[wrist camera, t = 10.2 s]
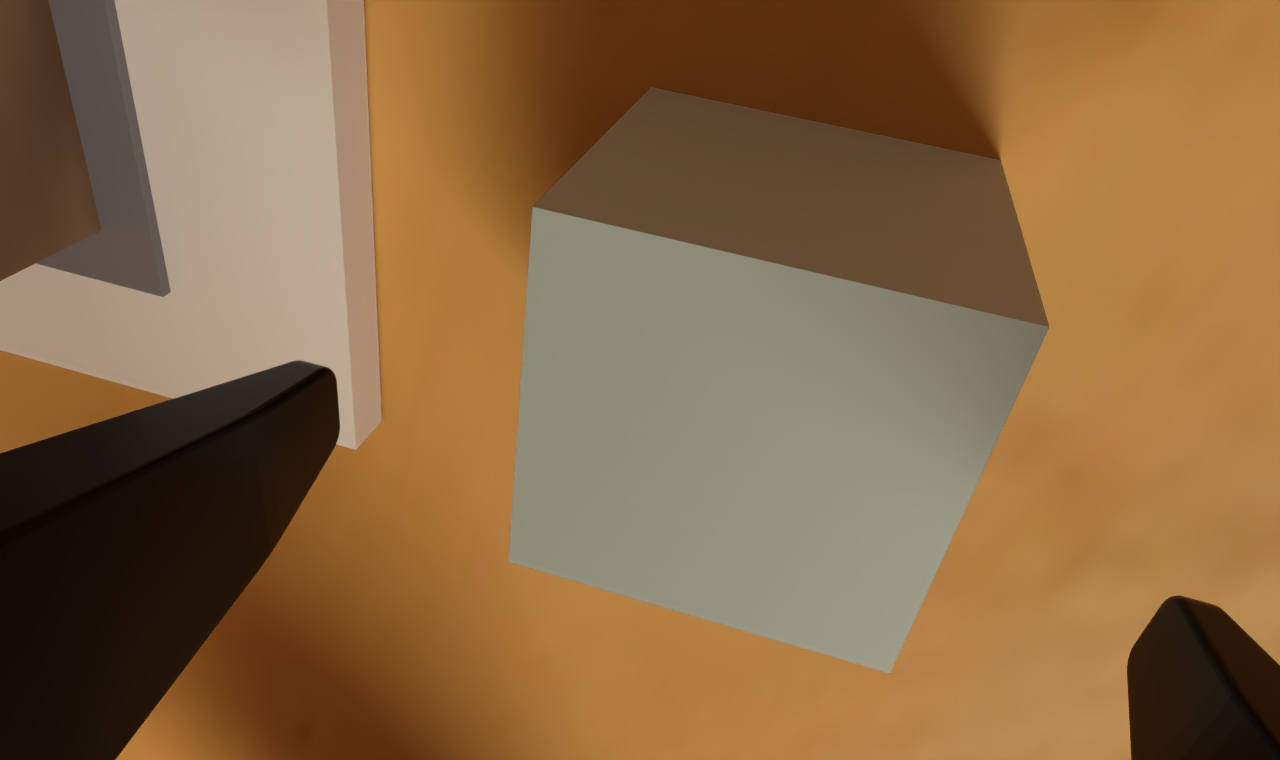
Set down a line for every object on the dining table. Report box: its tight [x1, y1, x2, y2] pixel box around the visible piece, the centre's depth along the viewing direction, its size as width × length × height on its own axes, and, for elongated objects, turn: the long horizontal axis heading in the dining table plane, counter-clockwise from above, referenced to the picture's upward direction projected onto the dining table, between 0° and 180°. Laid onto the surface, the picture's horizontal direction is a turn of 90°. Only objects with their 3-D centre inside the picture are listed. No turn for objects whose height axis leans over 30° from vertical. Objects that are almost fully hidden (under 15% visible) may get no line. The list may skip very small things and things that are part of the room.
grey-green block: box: [509, 87, 1049, 674], centre depth 12 cm, size 5×5×5 cm
